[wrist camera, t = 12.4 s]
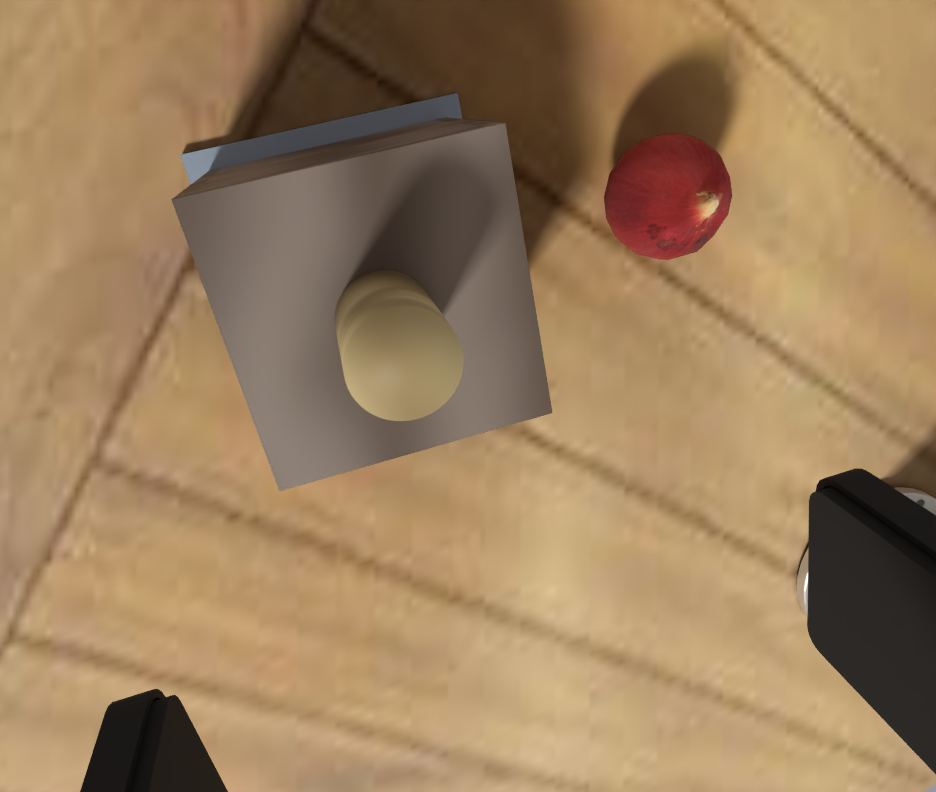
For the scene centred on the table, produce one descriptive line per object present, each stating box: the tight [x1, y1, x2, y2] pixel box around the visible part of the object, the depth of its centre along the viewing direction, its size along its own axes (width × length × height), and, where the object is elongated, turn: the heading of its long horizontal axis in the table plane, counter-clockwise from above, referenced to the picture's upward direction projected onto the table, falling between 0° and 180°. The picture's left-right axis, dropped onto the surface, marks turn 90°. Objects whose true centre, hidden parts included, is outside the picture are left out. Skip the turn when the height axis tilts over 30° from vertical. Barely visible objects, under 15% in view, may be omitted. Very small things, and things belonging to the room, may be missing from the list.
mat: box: [180, 93, 463, 184], centre depth 35 cm, size 13×13×1 cm
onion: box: [604, 133, 732, 260], centre depth 33 cm, size 6×6×8 cm
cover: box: [172, 117, 552, 491], centre depth 28 cm, size 11×11×16 cm
